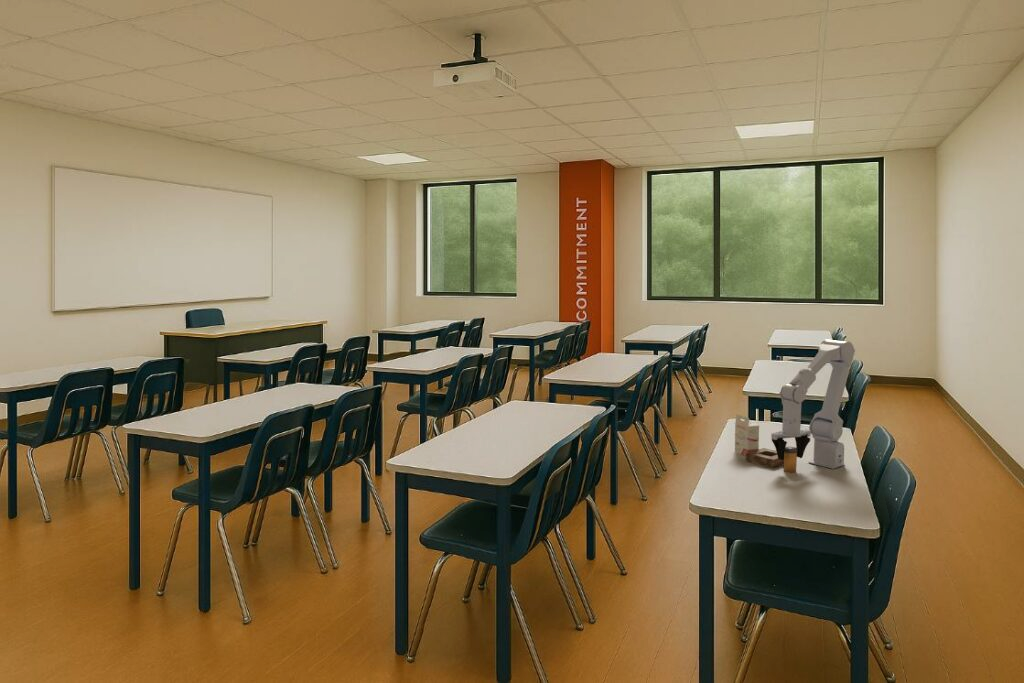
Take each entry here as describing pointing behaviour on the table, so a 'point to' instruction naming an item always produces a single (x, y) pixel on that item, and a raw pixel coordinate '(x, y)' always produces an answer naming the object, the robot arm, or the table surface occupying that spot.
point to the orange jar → (790, 459)
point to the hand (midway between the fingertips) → (790, 458)
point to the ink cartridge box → (746, 436)
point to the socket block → (764, 458)
